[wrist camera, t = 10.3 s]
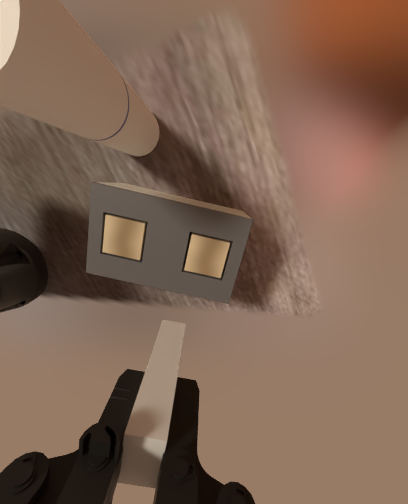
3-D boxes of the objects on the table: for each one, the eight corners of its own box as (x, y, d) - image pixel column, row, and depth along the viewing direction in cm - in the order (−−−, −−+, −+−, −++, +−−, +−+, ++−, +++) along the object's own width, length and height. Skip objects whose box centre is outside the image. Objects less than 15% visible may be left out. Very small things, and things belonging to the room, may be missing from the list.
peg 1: (125, 237, 36) (102, 252, 28) (129, 208, 34) (105, 214, 27) (155, 244, 36) (139, 260, 28) (159, 215, 34) (145, 223, 27)
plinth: (116, 251, 39) (85, 272, 29) (124, 183, 35) (91, 182, 26) (224, 275, 39) (228, 303, 30) (242, 210, 36) (253, 219, 26)
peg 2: (189, 252, 36) (184, 270, 29) (196, 223, 35) (191, 234, 27) (218, 258, 36) (220, 278, 29) (226, 230, 35) (230, 243, 27)
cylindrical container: (154, 161, 34) (20, 105, 10) (110, 149, 34) (-136, 62, 10) (163, 111, 32) (19, -109, 8) (116, 98, 32) (-180, -172, 8)
